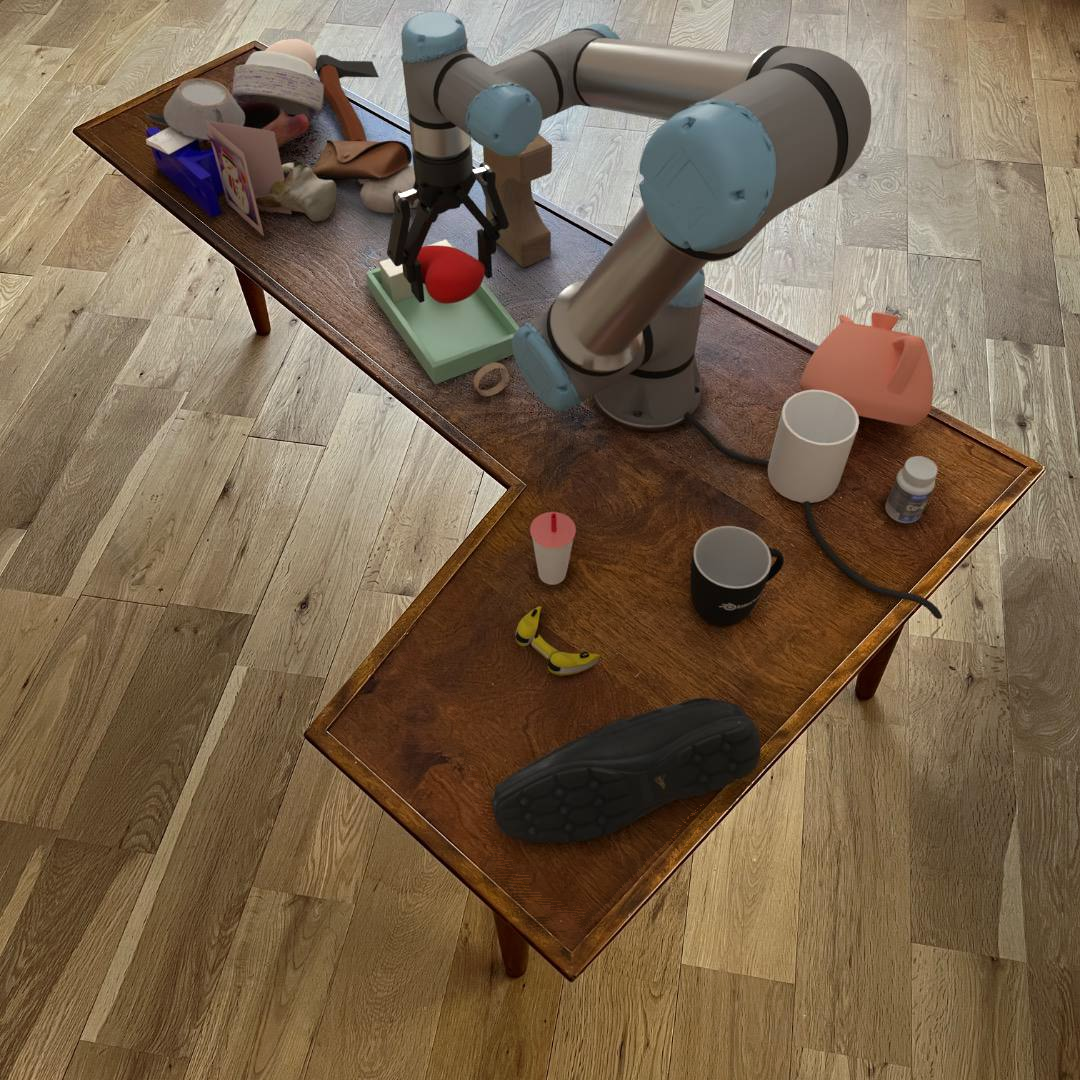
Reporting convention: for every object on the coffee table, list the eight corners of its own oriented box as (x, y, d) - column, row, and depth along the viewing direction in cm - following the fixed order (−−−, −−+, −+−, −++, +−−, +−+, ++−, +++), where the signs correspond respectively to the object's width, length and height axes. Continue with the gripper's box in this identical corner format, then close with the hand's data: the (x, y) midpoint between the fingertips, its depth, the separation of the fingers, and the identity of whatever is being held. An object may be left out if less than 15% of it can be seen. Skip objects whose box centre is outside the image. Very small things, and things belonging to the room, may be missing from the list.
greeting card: (222, 205, 180) (200, 122, 168) (261, 187, 183) (242, 105, 171) (259, 238, 175) (238, 155, 163) (298, 220, 178) (281, 137, 166)
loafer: (506, 869, 110) (489, 816, 120) (774, 800, 115) (737, 754, 124) (489, 781, 107) (473, 733, 116) (766, 714, 111) (729, 673, 121)
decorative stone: (372, 228, 176) (368, 202, 172) (355, 197, 181) (350, 171, 177) (446, 209, 180) (444, 182, 176) (427, 179, 184) (425, 153, 180)
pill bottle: (902, 530, 140) (920, 487, 133) (876, 505, 142) (893, 462, 135) (929, 514, 141) (949, 471, 134) (903, 490, 144) (921, 447, 137)
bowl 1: (145, 95, 173) (147, 122, 177) (219, 125, 173) (219, 151, 177) (188, 59, 181) (189, 86, 185) (258, 88, 181) (258, 114, 185)
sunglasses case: (301, 177, 183) (303, 135, 182) (331, 183, 189) (333, 142, 187) (383, 179, 174) (385, 134, 172) (411, 184, 179) (413, 142, 178)
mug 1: (705, 646, 129) (716, 598, 121) (670, 589, 134) (679, 539, 126) (793, 614, 132) (810, 564, 124) (756, 558, 137) (770, 508, 129)
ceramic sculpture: (313, 184, 168) (235, 159, 172) (316, 236, 174) (241, 211, 178) (353, 161, 175) (277, 137, 180) (355, 212, 181) (282, 188, 185)
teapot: (766, 393, 157) (789, 299, 154) (874, 415, 160) (898, 323, 157) (834, 411, 133) (863, 301, 130) (959, 438, 135) (990, 330, 133)
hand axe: (409, 156, 191) (371, 70, 209) (411, 138, 189) (372, 52, 206) (342, 157, 187) (308, 69, 205) (343, 139, 185) (309, 51, 202)
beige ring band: (510, 392, 154) (509, 366, 150) (480, 404, 153) (478, 378, 149) (501, 380, 156) (501, 354, 152) (471, 391, 154) (470, 366, 150)
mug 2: (785, 513, 141) (803, 453, 132) (746, 447, 148) (760, 385, 139) (851, 495, 143) (873, 434, 133) (809, 431, 150) (827, 369, 140)
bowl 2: (224, 183, 184) (213, 140, 177) (210, 142, 191) (198, 99, 185) (317, 162, 187) (310, 120, 181) (300, 123, 194) (292, 81, 188)
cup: (561, 597, 133) (562, 538, 124) (522, 580, 135) (521, 520, 125) (581, 566, 136) (584, 506, 126) (543, 549, 138) (544, 488, 128)
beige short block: (419, 294, 166) (416, 267, 162) (393, 303, 165) (389, 277, 161) (408, 279, 168) (405, 252, 164) (382, 288, 167) (378, 261, 163)
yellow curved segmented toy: (499, 640, 128) (506, 618, 126) (534, 621, 133) (542, 600, 131) (559, 693, 124) (568, 671, 122) (594, 671, 129) (603, 650, 126)
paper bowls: (340, 76, 194) (334, 122, 195) (261, 67, 197) (256, 112, 198) (305, 48, 179) (299, 99, 180) (220, 39, 182) (215, 89, 183)
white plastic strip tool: (235, 118, 184) (234, 112, 183) (168, 155, 175) (167, 149, 174) (213, 108, 185) (212, 102, 184) (146, 144, 177) (144, 137, 176)
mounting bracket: (145, 130, 181) (177, 116, 183) (157, 168, 187) (188, 154, 189) (200, 179, 173) (233, 164, 175) (212, 217, 178) (243, 202, 181)
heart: (466, 264, 159) (402, 274, 155) (468, 229, 156) (403, 239, 152) (502, 303, 152) (436, 316, 148) (504, 268, 148) (437, 280, 144)
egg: (241, 59, 198) (292, 24, 199) (268, 102, 203) (317, 69, 205) (255, 63, 191) (308, 27, 193) (282, 108, 196) (333, 73, 198)
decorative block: (552, 257, 172) (553, 144, 156) (521, 270, 170) (520, 157, 155) (515, 220, 178) (513, 108, 162) (485, 232, 176) (480, 119, 160)
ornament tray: (525, 350, 160) (524, 333, 157) (434, 384, 155) (433, 367, 153) (453, 259, 172) (452, 242, 169) (368, 289, 168) (365, 272, 165)
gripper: (506, 104, 142) (510, 245, 159) (346, 153, 135) (368, 294, 153) (534, 133, 138) (534, 274, 155) (370, 185, 131) (390, 326, 149)
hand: (452, 284), depth 154 cm, fingers closed on heart, 10 cm apart
